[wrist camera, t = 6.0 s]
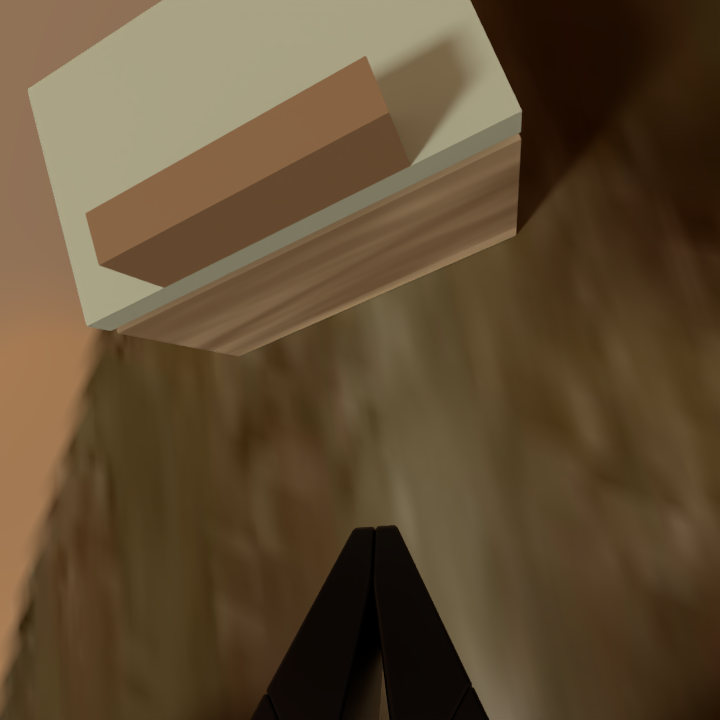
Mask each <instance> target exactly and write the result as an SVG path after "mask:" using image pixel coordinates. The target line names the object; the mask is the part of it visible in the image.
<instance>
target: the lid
mask: <svg viewBox="0 0 720 720" xmlns="http://www.w3.org/2000/svg"><path fill="white" fill-rule="evenodd" d="M27 90H28V94H29V98H30V102H31V106H32V110H33V114H34V118H35V122H36V126H37V130H38V134H39V138H40V142H41V146H42V150H43V154H44V158H45V162H46V166H47V170H48V174H49V178H50V182H51V186H52V190H53V194H54V198H55V202H56V206H57V210H58V214H59V218H60V222H61V226H62V230H63V234H64V238H65V242H66V246H67V250H68V254H69V258H70V262H71V266H72V270H73V274H74V278H75V282H76V286H77V290H78V294H79V297H80V301H81V306H82V310H83V314H84V318H85V322H86V326H88V327H93V328H98V329H104V330H109V331H112V330H114V329H116V328H118V327H120V326H122V325H124V324H126V323H128V322H130V321H132V320H134V319H136V318H138V317H140V316H143V315H145V314H147V313H149V312H151V311H153V310H155V309H157V308H159V307H161V306H163V305H165V304H167V303H169V302H171V301H173V300H176V299H178V298H180V297H182V296H184V295H186V294H188V293H190V292H192V291H194V290H196V289H198V288H200V287H202V286H204V285H206V284H209V283H211V282H213V281H215V280H217V279H219V278H221V277H223V276H225V275H227V274H229V273H231V272H233V271H235V270H237V269H239V268H242V267H244V266H246V265H248V264H250V263H252V262H254V261H256V260H258V259H260V258H262V257H264V256H266V255H268V254H270V253H272V252H275V251H277V250H279V249H281V248H283V247H285V246H287V245H289V244H291V243H293V242H295V241H297V240H299V239H301V238H303V237H305V236H308V235H310V234H312V233H314V232H316V231H318V230H320V229H322V228H324V227H326V226H328V225H330V224H332V223H334V222H336V221H338V220H341V219H343V218H345V217H347V216H349V215H351V214H353V213H355V212H357V211H359V210H361V209H363V208H365V207H367V206H369V205H371V204H374V203H376V202H378V201H380V200H382V199H384V198H386V197H388V196H390V195H392V194H394V193H396V192H398V191H400V190H402V189H404V188H407V187H409V186H411V185H413V184H415V183H417V182H419V181H421V180H423V179H425V178H427V177H429V176H431V175H433V174H435V173H437V172H439V171H442V170H444V169H446V168H448V167H450V166H452V165H454V164H456V163H458V162H460V161H462V160H464V159H466V158H468V157H470V156H472V155H475V154H477V153H479V152H481V151H483V150H485V149H487V148H489V147H491V146H493V145H495V144H497V143H499V142H501V141H503V140H505V139H508V138H510V137H512V136H514V135H516V134H518V133H520V132H521V121H522V110H521V108H520V105H519V103H518V101H517V99H516V97H515V95H514V93H513V91H512V88H511V86H510V84H509V82H508V80H507V78H506V76H505V73H504V71H503V69H502V67H501V65H500V63H499V61H498V58H497V56H496V54H495V52H494V50H493V48H492V46H491V44H490V41H489V39H488V37H487V35H486V33H485V31H484V29H483V26H482V24H481V22H480V20H479V18H478V16H477V14H476V11H475V9H474V7H473V5H472V3H471V1H470V0H162V1H161V2H159V3H158V4H156V5H155V6H153V7H152V8H150V9H149V10H147V11H146V12H144V13H142V14H141V15H139V16H138V17H136V18H135V19H134V20H132V21H130V22H129V23H127V24H126V25H125V26H123V27H121V28H120V29H119V30H117V31H115V32H114V33H112V34H111V35H109V36H108V37H106V38H105V39H103V40H102V41H100V42H99V43H97V44H96V45H94V46H92V47H91V48H89V49H88V50H87V51H85V52H83V53H82V54H80V55H79V56H77V57H76V58H74V59H73V60H71V61H70V62H68V63H67V64H65V65H64V66H62V67H61V68H59V69H58V70H56V71H55V72H53V73H52V74H50V75H49V76H47V77H46V78H44V79H43V80H41V81H40V82H38V83H36V84H35V85H34V86H32V87H30V88H29V89H27Z"/></svg>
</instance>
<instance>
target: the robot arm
mask: <svg viewBox="0 0 720 720" xmlns="http://www.w3.org/2000/svg"><path fill="white" fill-rule="evenodd" d="M382 671H384V679H385V687H386V695H387V703H388V711H389V719H390V720H489V718H488V716H487V714H486V712H485V710H484V708H483V706H482V704H481V702H480V700H479V698H478V695H477V693H476V691H475V689H474V688H473V687H472V684H471V681H470V679H469V677H468V675H467V673H466V671H465V669H464V666H463V664H462V662H461V660H460V658H459V656H458V654H457V652H456V650H455V647H454V645H453V643H452V641H451V639H450V637H449V635H448V633H447V631H446V629H445V626H444V624H443V622H442V620H441V618H440V616H439V614H438V612H437V610H436V607H435V605H434V603H433V601H432V599H431V597H430V595H429V593H428V591H427V588H426V586H425V584H424V582H423V580H422V578H421V576H420V574H419V572H418V570H417V567H416V565H415V563H414V561H413V559H412V557H411V555H410V553H409V551H408V548H407V546H406V544H405V542H404V540H403V538H402V536H401V534H400V532H399V530H398V528H397V527H396V526H395V525H390V526H378V527H377V528H376V530H375V528H373V527H360V528H355V529H354V530H353V531H352V533H351V535H350V536H349V538H348V540H347V542H346V544H345V546H344V548H343V549H342V551H341V553H340V555H339V557H338V559H337V561H336V562H335V564H334V566H333V568H332V570H331V572H330V573H329V575H328V577H327V579H326V581H325V583H324V585H323V586H322V588H321V590H320V592H319V594H318V596H317V598H316V599H315V601H314V603H313V605H312V607H311V609H310V610H309V612H308V614H307V616H306V618H305V620H304V622H303V623H302V625H301V627H300V629H299V631H298V633H297V635H296V636H295V638H294V640H293V642H292V644H291V646H290V647H289V649H288V651H287V653H286V655H285V657H284V659H283V660H282V662H281V664H280V666H279V668H278V670H277V672H276V673H275V675H274V677H273V679H272V681H271V683H270V684H269V686H268V688H267V694H268V695H267V694H265V695H263V697H262V699H261V701H260V703H259V704H258V706H257V708H256V710H255V712H254V714H253V716H252V717H251V719H250V720H379V711H380V697H381V684H382Z"/></svg>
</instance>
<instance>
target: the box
mask: <svg viewBox="0 0 720 720" xmlns="http://www.w3.org/2000/svg"><path fill="white" fill-rule="evenodd" d="M520 152H521V137H520V135H519V133H518V134H516V135H514V136H512V137H510V138H508V139H505V140H503V141H501V142H499V143H497V144H495V145H493V146H491V147H489V148H487V149H485V150H483V151H481V152H479V153H477V154H475V155H472V156H470V157H468V158H466V159H464V160H462V161H460V162H458V163H456V164H454V165H452V166H450V167H448V168H446V169H444V170H442V171H439V172H437V173H435V174H433V175H431V176H429V177H427V178H425V179H423V180H421V181H419V182H417V183H415V184H413V185H411V186H409V187H407V188H404V189H402V190H400V191H398V192H396V193H394V194H392V195H390V196H388V197H386V198H384V199H382V200H380V201H378V202H376V203H374V204H371V205H369V206H367V207H365V208H363V209H361V210H359V211H357V212H355V213H353V214H351V215H349V216H347V217H345V218H343V219H341V220H338V221H336V222H334V223H332V224H330V225H328V226H326V227H324V228H322V229H320V230H318V231H316V232H314V233H312V234H310V235H308V236H305V237H303V238H301V239H299V240H297V241H295V242H293V243H291V244H289V245H287V246H285V247H283V248H281V249H279V250H277V251H275V252H272V253H270V254H268V255H266V256H264V257H262V258H260V259H258V260H256V261H254V262H252V263H250V264H248V265H246V266H244V267H242V268H239V269H237V270H235V271H233V272H231V273H229V274H227V275H225V276H223V277H221V278H219V279H217V280H215V281H213V282H211V283H209V284H206V285H204V286H202V287H200V288H198V289H196V290H194V291H192V292H190V293H188V294H186V295H184V296H182V297H180V298H178V299H176V300H173V301H171V302H169V303H167V304H165V305H163V306H161V307H159V308H157V309H155V310H153V311H151V312H149V313H147V314H145V315H143V316H140V317H138V318H136V319H134V320H132V321H130V322H128V323H126V324H124V325H122V326H120V327H118V328H117V332H118V333H119V334H124V335H130V336H135V337H140V338H146V339H151V340H156V341H161V342H167V343H172V344H177V345H182V346H188V347H193V348H198V349H204V350H209V351H214V352H219V353H225V354H230V355H235V356H241V355H243V354H245V353H248V352H250V351H252V350H255V349H257V348H259V347H261V346H264V345H266V344H268V343H271V342H273V341H275V340H277V339H280V338H282V337H284V336H287V335H289V334H291V333H293V332H296V331H298V330H300V329H303V328H305V327H307V326H309V325H312V324H314V323H316V322H319V321H321V320H323V319H325V318H328V317H330V316H332V315H335V314H337V313H339V312H342V311H344V310H346V309H348V308H351V307H353V306H355V305H358V304H360V303H362V302H364V301H367V300H369V299H371V298H374V297H376V296H378V295H380V294H383V293H385V292H387V291H390V290H392V289H394V288H396V287H399V286H401V285H403V284H406V283H408V282H410V281H412V280H415V279H417V278H419V277H422V276H424V275H426V274H428V273H431V272H433V271H435V270H438V269H440V268H442V267H445V266H447V265H449V264H451V263H454V262H456V261H458V260H461V259H463V258H465V257H467V256H470V255H472V254H474V253H477V252H479V251H481V250H483V249H486V248H488V247H490V246H493V245H495V244H497V243H499V242H502V241H504V240H506V239H509V238H511V237H513V236H515V235H516V228H517V209H518V190H519V171H520Z"/></svg>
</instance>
